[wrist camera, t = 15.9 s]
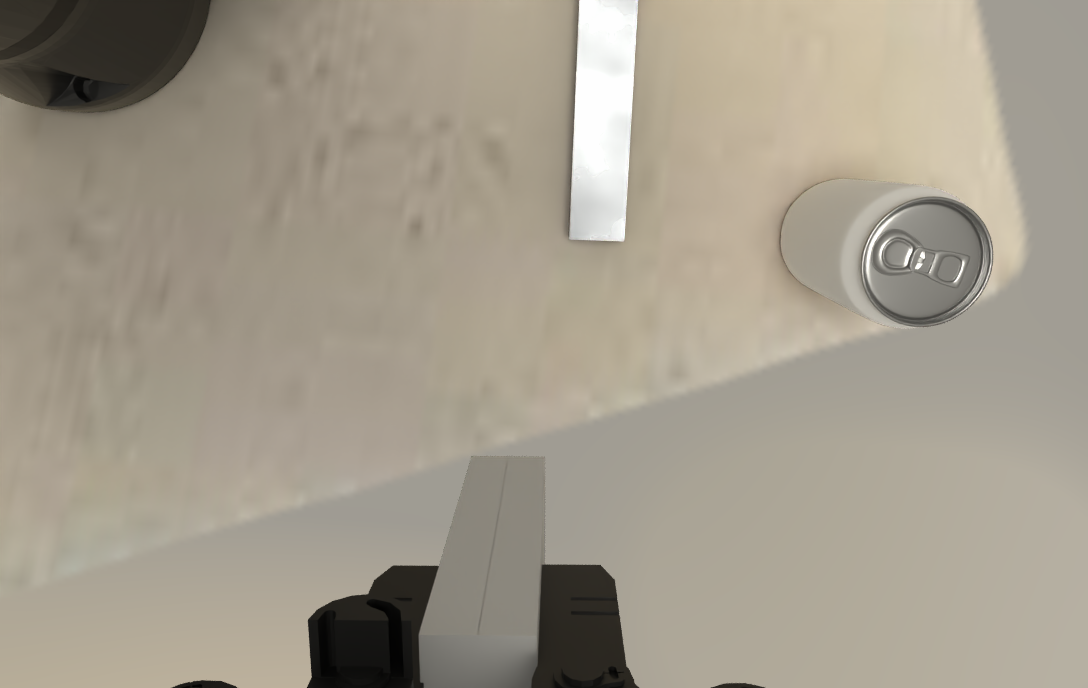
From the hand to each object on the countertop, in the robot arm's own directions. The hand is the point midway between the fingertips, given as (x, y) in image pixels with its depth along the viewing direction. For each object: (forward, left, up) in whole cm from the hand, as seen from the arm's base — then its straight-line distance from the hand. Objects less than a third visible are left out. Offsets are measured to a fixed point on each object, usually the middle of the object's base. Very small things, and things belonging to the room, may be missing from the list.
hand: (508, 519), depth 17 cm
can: (+13, +11, -32) cm, 36 cm away
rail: (-5, +15, -32) cm, 36 cm away
